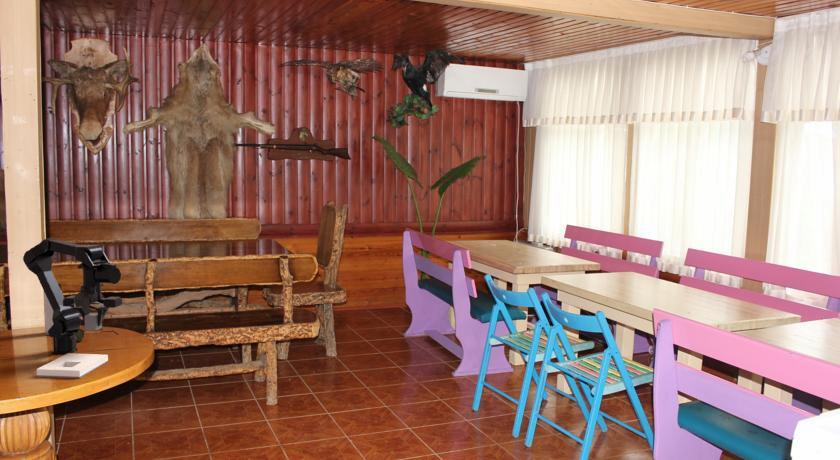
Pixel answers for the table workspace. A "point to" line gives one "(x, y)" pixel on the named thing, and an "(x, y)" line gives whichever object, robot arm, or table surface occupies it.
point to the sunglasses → (81, 332)
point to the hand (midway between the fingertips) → (93, 325)
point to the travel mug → (48, 313)
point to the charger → (92, 322)
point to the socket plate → (72, 365)
